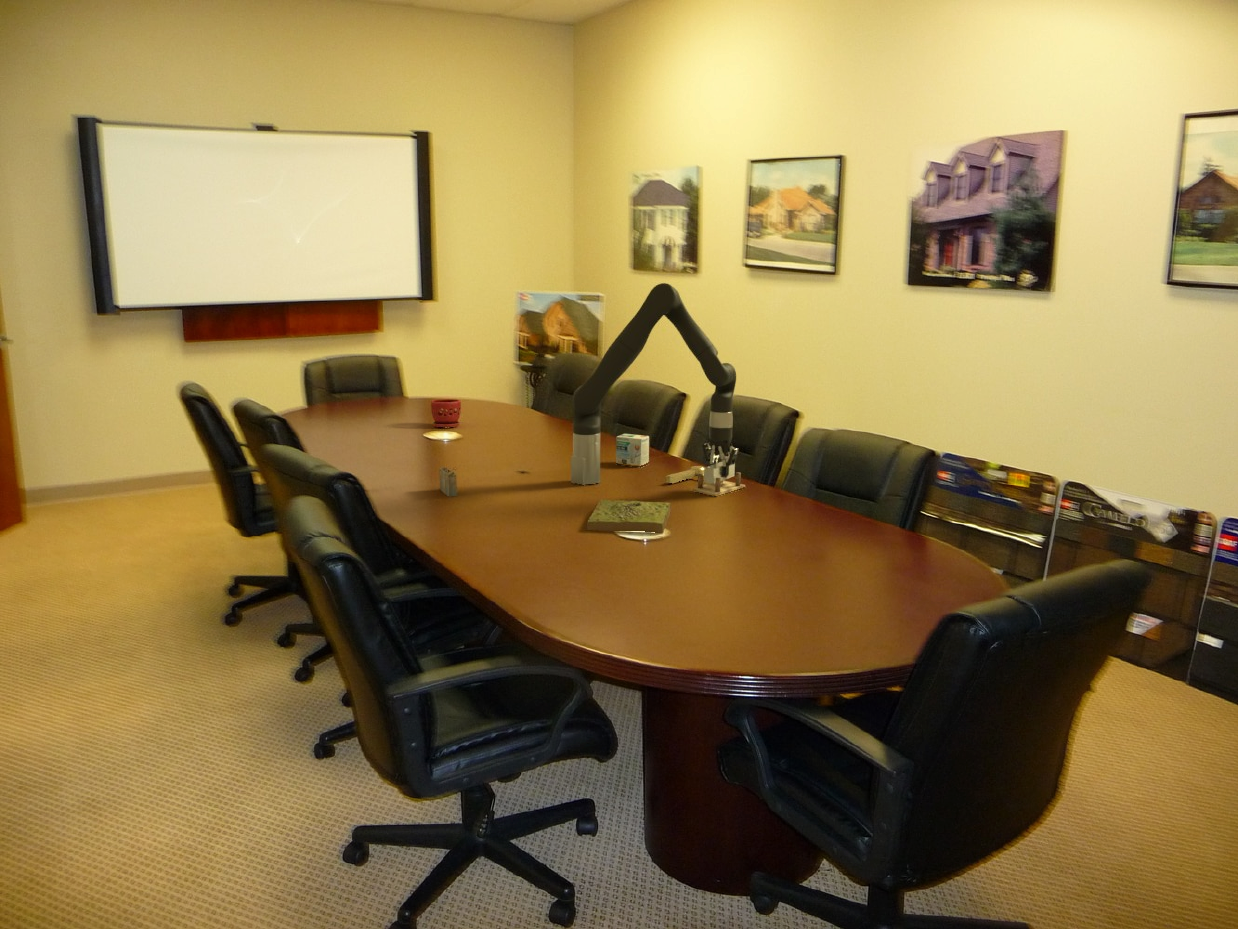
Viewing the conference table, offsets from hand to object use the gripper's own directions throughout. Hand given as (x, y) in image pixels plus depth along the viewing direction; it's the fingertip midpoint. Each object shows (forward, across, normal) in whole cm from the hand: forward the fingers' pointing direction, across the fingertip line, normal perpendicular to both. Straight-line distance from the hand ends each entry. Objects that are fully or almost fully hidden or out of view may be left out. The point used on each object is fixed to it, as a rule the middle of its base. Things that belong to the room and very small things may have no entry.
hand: (719, 475), depth 322 cm
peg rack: (+5, 0, 0) cm, 5 cm away
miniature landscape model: (+6, +4, -48) cm, 49 cm away
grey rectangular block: (+1, 0, 0) cm, 1 cm away
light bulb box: (+5, -47, +9) cm, 48 cm away
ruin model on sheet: (+5, -61, -65) cm, 89 cm away
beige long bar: (+5, -17, +3) cm, 18 cm away
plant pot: (+5, -158, +8) cm, 158 cm away
